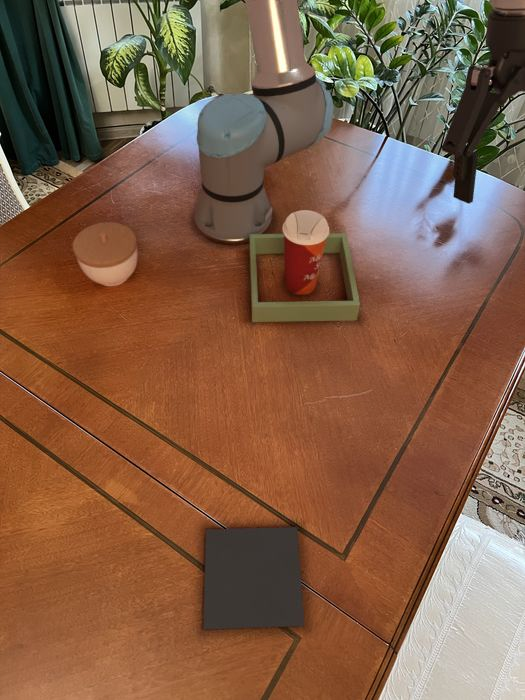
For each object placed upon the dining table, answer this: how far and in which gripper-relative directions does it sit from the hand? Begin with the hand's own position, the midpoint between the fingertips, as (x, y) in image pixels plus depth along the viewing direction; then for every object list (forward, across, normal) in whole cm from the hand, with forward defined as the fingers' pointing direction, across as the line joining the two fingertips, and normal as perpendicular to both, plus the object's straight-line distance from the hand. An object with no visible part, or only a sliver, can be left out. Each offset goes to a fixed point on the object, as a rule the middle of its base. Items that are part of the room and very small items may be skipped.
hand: (499, 182), depth 78 cm
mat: (+29, -53, -13) cm, 62 cm away
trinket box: (+15, -47, +44) cm, 66 cm away
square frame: (+21, -19, +25) cm, 37 cm away
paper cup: (+21, -19, +25) cm, 38 cm away
